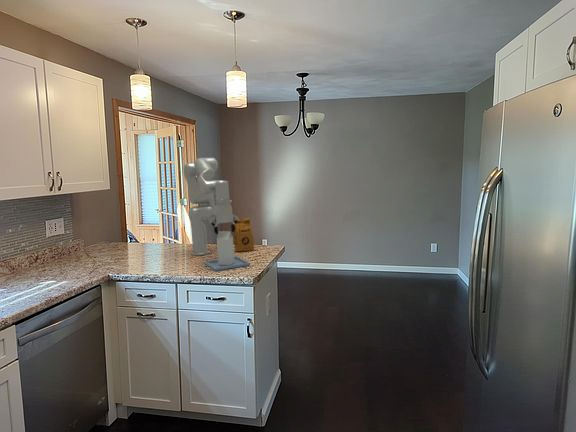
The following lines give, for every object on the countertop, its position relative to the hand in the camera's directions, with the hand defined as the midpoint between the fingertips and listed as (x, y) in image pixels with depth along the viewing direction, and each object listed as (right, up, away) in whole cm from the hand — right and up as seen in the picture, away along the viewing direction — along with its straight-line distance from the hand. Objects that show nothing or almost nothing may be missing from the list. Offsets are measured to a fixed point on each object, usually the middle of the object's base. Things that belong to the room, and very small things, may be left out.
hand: (224, 232), depth 221 cm
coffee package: (+7, -14, +41) cm, 44 cm away
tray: (+1, -19, +2) cm, 19 cm away
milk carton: (+1, -18, +2) cm, 18 cm away
